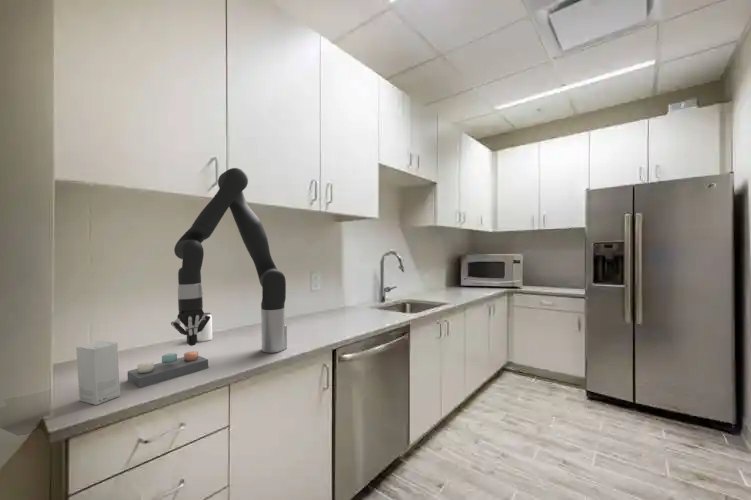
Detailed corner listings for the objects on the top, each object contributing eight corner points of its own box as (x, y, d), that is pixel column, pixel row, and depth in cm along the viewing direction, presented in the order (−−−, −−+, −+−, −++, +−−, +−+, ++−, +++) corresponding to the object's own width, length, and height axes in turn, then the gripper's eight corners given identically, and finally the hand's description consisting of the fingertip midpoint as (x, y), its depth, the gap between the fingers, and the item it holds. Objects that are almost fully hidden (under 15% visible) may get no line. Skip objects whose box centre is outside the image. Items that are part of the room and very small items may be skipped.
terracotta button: (194, 356, 123) (194, 350, 123) (200, 358, 120) (200, 352, 120) (181, 359, 119) (181, 353, 119) (187, 361, 117) (187, 356, 117)
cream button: (151, 367, 112) (150, 361, 112) (156, 370, 109) (156, 363, 109) (135, 371, 108) (135, 364, 108) (140, 374, 106) (140, 367, 106)
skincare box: (120, 396, 97) (119, 342, 97) (94, 406, 91) (92, 349, 91) (103, 391, 101) (102, 339, 100) (76, 401, 95) (75, 345, 94)
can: (195, 342, 151) (194, 315, 151) (198, 338, 157) (197, 313, 157) (210, 341, 153) (210, 314, 153) (213, 337, 159) (213, 312, 159)
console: (194, 362, 126) (194, 354, 126) (208, 367, 120) (208, 359, 120) (127, 380, 109) (127, 371, 109) (139, 388, 103) (138, 378, 103)
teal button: (173, 358, 117) (173, 352, 117) (179, 360, 115) (179, 354, 115) (159, 361, 114) (159, 355, 114) (165, 364, 111) (165, 358, 111)
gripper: (204, 293, 127) (205, 339, 127) (165, 298, 116) (167, 348, 117) (214, 294, 122) (215, 342, 123) (174, 300, 112) (176, 352, 112)
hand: (192, 345), depth 120 cm, fingers closed
